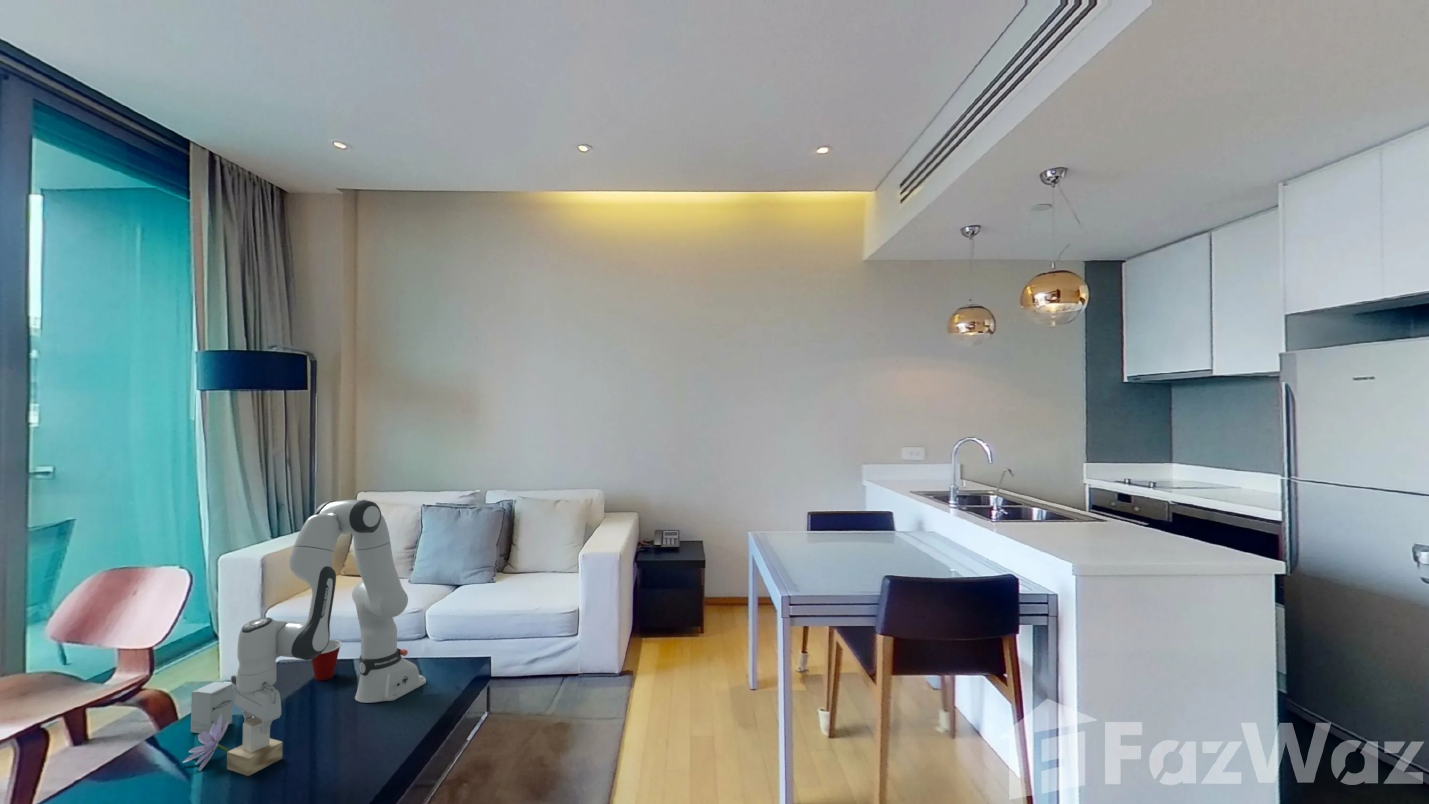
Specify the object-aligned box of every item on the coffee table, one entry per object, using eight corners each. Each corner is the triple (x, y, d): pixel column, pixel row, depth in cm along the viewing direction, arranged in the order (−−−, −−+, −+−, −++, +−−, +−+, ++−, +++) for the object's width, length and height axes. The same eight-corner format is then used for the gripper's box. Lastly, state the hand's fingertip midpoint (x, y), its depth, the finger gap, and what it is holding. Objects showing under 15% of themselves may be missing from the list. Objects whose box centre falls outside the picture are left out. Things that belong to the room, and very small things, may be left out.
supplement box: (209, 735, 185) (210, 693, 185) (189, 732, 187) (190, 691, 187) (233, 723, 193) (233, 682, 193) (214, 720, 194) (214, 680, 194)
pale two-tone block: (261, 740, 174) (261, 713, 174) (269, 744, 171) (269, 717, 172) (242, 748, 170) (243, 720, 170) (250, 752, 167) (251, 724, 168)
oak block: (261, 752, 176) (261, 735, 176) (282, 759, 173) (282, 741, 173) (226, 769, 168) (227, 751, 168) (248, 777, 165) (248, 758, 165)
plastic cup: (303, 685, 219) (303, 652, 219) (311, 673, 229) (311, 641, 229) (338, 681, 222) (338, 648, 223) (344, 669, 233) (344, 638, 233)
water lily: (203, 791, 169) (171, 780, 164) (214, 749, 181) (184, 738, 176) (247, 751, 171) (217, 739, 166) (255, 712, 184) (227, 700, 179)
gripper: (288, 682, 168) (288, 732, 168) (253, 666, 179) (253, 714, 179) (261, 692, 163) (261, 743, 163) (227, 675, 173) (227, 723, 173)
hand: (257, 728), depth 171 cm, fingers open, 8 cm apart
